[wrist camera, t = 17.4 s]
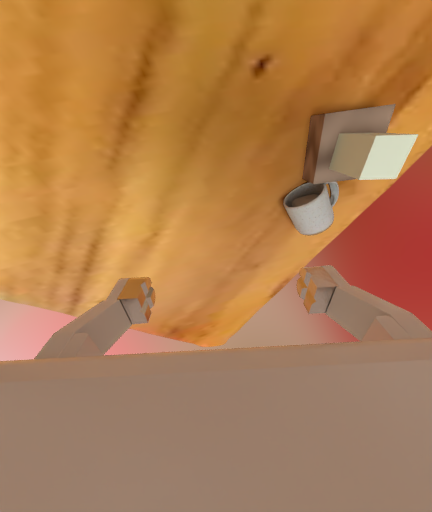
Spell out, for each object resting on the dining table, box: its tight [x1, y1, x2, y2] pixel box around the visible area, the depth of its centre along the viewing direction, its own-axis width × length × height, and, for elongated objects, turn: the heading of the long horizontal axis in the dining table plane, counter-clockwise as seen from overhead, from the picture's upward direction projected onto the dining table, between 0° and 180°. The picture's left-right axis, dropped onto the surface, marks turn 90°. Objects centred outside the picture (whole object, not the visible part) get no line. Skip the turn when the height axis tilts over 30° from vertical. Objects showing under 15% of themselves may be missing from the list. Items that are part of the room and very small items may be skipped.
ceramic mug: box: [283, 181, 339, 235], centre depth 36 cm, size 11×8×8 cm
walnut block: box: [303, 104, 395, 184], centre depth 32 cm, size 10×10×5 cm
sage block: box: [329, 133, 418, 180], centre depth 27 cm, size 5×5×8 cm
